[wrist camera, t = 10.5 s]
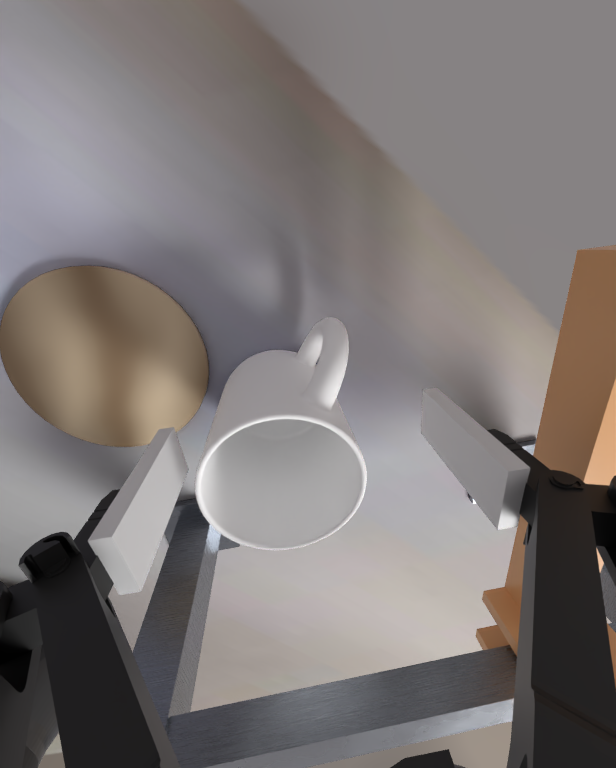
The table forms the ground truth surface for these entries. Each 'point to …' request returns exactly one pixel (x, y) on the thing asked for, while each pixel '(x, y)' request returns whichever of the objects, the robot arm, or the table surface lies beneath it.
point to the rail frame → (312, 704)
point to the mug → (283, 448)
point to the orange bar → (571, 419)
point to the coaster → (104, 355)
